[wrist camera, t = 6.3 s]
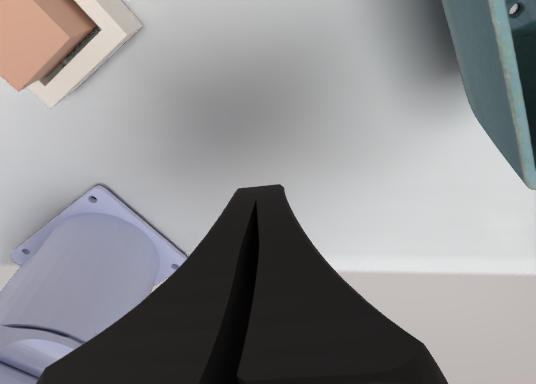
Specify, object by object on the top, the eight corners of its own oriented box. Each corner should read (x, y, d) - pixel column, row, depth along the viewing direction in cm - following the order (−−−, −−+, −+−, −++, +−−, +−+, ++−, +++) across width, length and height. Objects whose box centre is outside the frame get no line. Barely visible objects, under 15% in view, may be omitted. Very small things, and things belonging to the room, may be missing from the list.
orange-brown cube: (49, 73, 17) (18, 91, 15) (-19, 9, 16) (-64, 18, 14) (97, 25, 16) (70, 37, 14) (28, -48, 15) (-14, -48, 13)
